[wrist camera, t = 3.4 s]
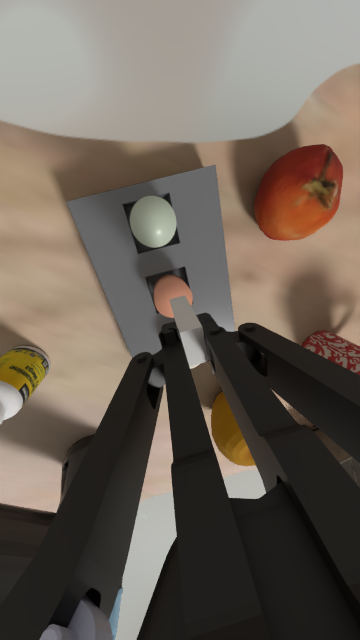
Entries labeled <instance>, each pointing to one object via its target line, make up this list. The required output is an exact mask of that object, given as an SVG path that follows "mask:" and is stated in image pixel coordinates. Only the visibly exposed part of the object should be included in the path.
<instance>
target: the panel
mask: <svg viewBox="0 0 360 640" xmlns="http://www.w3.org/2000/svg"><path fill="white" fill-rule="evenodd" d="M146 196H157V197H160V198H162V199H164V200H165V201H167V202H168V203H169V204H170V206H171V207H172V209H173V210H174V213H175V216H176V231H175V234H174V236H173V237H172V239H171V240H170V241H169V242H168V243H167V244H165V245H163V246H161V247H155V248H154V247H148V246H146V245H144V244H142V243H141V242H140V241H138V240H137V238H136V237H135V236H134V234H133V232H132V229H131V226H130V214H131V211H132V208H133V206H134V205H135V204H136V202H137V201H138V200H140V199H141V198H143V197H146ZM66 203H67V205H68V207H69V210H70V212H71V214H72V217H73V219H74V221H75V224H76V226H77V229H78V231H79V233H80V236H81V238H82V240H83V243H84V245H85V247H86V250H87V252H88V255H89V257H90V259H91V262H92V264H93V266H94V269H95V271H96V273H97V276H98V278H99V281H100V283H101V285H102V288H103V290H104V292H105V295H106V297H107V299H108V302H109V304H110V307H111V309H112V311H113V314H114V316H115V318H116V321H117V323H118V325H119V328H120V330H121V332H122V335H123V337H124V340H125V342H126V344H127V347H128V349H129V351H130V354H131V356H132V358H133V357H134V356H135V355H137V354H139V353H142V352H149V353H151V354H152V355H153V354H155V353H157V352H159V351H160V350H161V349H162V346H161V342H160V339H159V336H158V334H159V332H160V331H161V328H162V326H163V324H167V323H170V322H174V321H175V318H170V317H166V316H164V315H162V314H161V313H160V312H159V311H158V310H157V309H156V306H155V303H154V292H153V289H154V285H155V282H156V281H157V280H158V279H159V278H160V277H161V276H163V275H166V274H175V275H177V276H179V277H181V278H182V279H183V280H184V282H185V283H186V284H187V286H188V287H189V288H190V290H191V292H192V296H193V301H192V305H191V307H192V309H193V311H194V313H195V314H196V315H198V314H202V313H205V312H206V313H208V314H210V315H211V316H212V318H213V319H214V320H215V322H216V323H217V325H218V326H220V327H223V328H224V329H225V330H226V331H229V332H233V331H235V326H234V318H233V309H232V301H231V292H230V284H229V275H228V267H227V258H226V250H225V241H224V233H223V224H222V216H221V208H220V199H219V191H218V182H217V174H216V165H212V166H208V167H204V168H200V169H196V170H192V171H188V172H184V173H180V174H176V175H171V176H167V177H163V178H159V179H155V180H151V181H147V182H143V183H139V184H135V185H131V186H127V187H123V188H119V189H115V190H111V191H107V192H103V193H99V194H94V195H90V196H86V197H82V198H78V199H74V200H70V201H66ZM208 357H209V356H208Z"/></svg>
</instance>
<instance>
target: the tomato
mask: <svg viewBox="0 0 360 640" xmlns="http://www.w3.org/2000/svg"><path fill="white" fill-rule="evenodd" d="M342 179H343V167H342V164H341V162H340V161H339V159H338V157H337V156H336V154H335V153H334V152H333V150H332V149H331V148H330V147H329V146H327V145H324V144H320V145H311V146H304V147H301V148H298V149H295V150H292V151H290V152H289V153H287V154H285V155H284V156H282V157H281V158H279V159H278V160H277V161H275V162H274V163H273V164H272V166H271V167H270V168H269V169H268V170H267V171H266V173H265V174H264V176H263V178H262V181H261V183H260V186H259V189H258V192H257V195H256V198H255V202H254V213H255V219H256V221H257V223H258V226H259V228H260V230H261V231H262V232H263V233H264V234H265V235H266V236H267V237H269V238H271V239H274V240H299V239H303V238H305V237H307V236H309V235H311V234H313V233H315V232H316V231H317V230H319V229H320V228H321V227H323V226H324V225H326V224H327V223H328V222H329V221H330V220H331V219H332V218H333V216H334V215H335V213H336V211H337V209H338V207H339V201H340V194H341V187H342Z"/></svg>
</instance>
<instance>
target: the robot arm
mask: <svg viewBox="0 0 360 640" xmlns="http://www.w3.org/2000/svg"><path fill="white" fill-rule="evenodd" d="M169 300H170V304H171V307H172V311H173V315H174V318H175V321H174V322H170V323H167V324H163V326H162V328H161V331H160V332H159V334H158V336H159V339H160V342H161V346H162V349H161V350H160V351H159V352H157V353H155V354H153V355H152V354H151V353H149V352H142V353H139V354H137V355H135V356H134V357H133V358H132V360H131V361H130V363H129V365H128V368H127V370H126V372H125V374H124V376H123V378H122V380H121V382H120V384H119V386H118V388H117V390H116V392H115V394H114V396H113V398H112V400H111V402H110V404H109V406H108V408H107V411H106V413H105V415H104V417H103V419H102V421H101V423H100V425H99V427H98V429H97V431H96V433H95V435H92V436H89V437H86V438H83V439H81V440H79V441H77V442H76V443H75V444H73V445H72V446H71V447H70V449H69V450H68V452H67V455H66V457H65V460H64V463H63V466H62V480H61V497H60V504H59V507H58V510H57V513H53V512H48V511H42V510H36V509H30V508H24V507H18V506H13V505H8V504H3V503H0V640H115V637H116V632H117V624H118V618H119V610H120V602H121V594H122V591H123V588H122V577H123V573H124V569H125V564H126V560H127V556H128V552H129V548H130V543H131V538H132V533H133V529H134V524H135V520H136V515H137V510H138V505H139V501H140V496H141V492H142V487H143V482H144V477H145V473H146V468H147V463H148V459H149V454H150V449H151V445H152V440H153V435H154V431H155V426H156V421H157V417H158V412H159V407H160V403H161V398H162V393H163V385H165V384H166V392H167V402H168V411H169V421H170V431H171V440H172V450H173V463H172V465H171V475H172V487H173V498H174V509H175V520H176V531H177V537H176V539H175V541H174V542H173V544H172V546H171V548H170V550H169V552H168V554H167V556H166V560H165V562H164V564H163V567H162V570H161V573H160V576H159V578H158V581H157V584H156V587H155V590H154V592H153V596H152V598H151V601H150V604H149V606H148V609H147V612H146V615H145V618H144V620H143V623H142V626H141V629H140V632H139V634H138V637H137V640H360V487H359V486H358V485H357V484H356V483H355V481H354V480H353V479H352V478H351V476H350V475H349V474H348V473H347V472H346V470H345V469H344V468H343V467H342V465H341V464H340V463H339V462H338V461H337V459H336V458H335V457H334V456H333V454H332V453H331V452H330V451H329V450H328V448H327V447H326V446H325V445H324V443H323V442H322V441H321V440H320V439H319V437H318V436H317V435H316V434H315V433H314V432H313V431H312V430H311V428H309V427H308V426H306V425H299V424H298V423H297V422H296V421H295V420H294V419H293V417H292V416H291V415H290V413H289V412H288V411H287V410H286V408H285V407H284V406H283V404H282V403H281V402H280V400H279V399H278V398H277V396H276V395H275V394H274V393H273V391H274V392H275V393H277V394H278V395H279V396H280V397H281V398H283V399H284V400H285V401H286V402H287V403H289V404H290V405H291V406H292V407H293V408H295V409H296V410H297V411H298V412H299V413H300V414H302V415H303V416H304V417H305V418H306V419H308V420H309V421H310V422H311V423H312V424H314V425H315V426H316V427H317V428H318V429H319V430H321V431H322V432H323V433H324V434H325V435H327V436H328V437H329V438H330V439H331V440H333V441H334V442H335V443H336V444H337V445H339V446H340V447H341V448H342V449H343V450H344V451H346V452H347V453H348V454H349V455H350V456H352V457H353V458H354V459H355V460H356V461H358V462H359V463H360V375H358V374H356V373H354V372H352V371H350V370H348V369H346V368H344V367H342V366H340V365H338V364H336V363H334V362H332V361H330V360H328V359H326V358H324V357H322V356H320V355H318V354H316V353H314V352H312V351H310V350H308V349H306V348H304V347H302V346H300V345H298V344H296V343H294V342H292V341H290V340H288V339H286V338H284V337H282V336H280V335H278V334H276V333H274V332H272V331H270V330H268V329H266V328H264V327H262V326H260V325H258V324H256V323H245V324H242V325H240V326H239V327H238V331H233V332H229V331H226V330H225V329H224V328H223V327H220V326H218V325H217V323H216V322H215V320H214V319H213V318H212V316H211V315H210V314H208V313H206V312H205V313H202V314H198V315H196V314H195V313H194V311H193V309H192V307H191V305H190V303H189V302H188V300H187V298H186V296H185V295H184V296H180V297H176V298H172V299H169ZM262 353H263V354H264V355H263V354H262ZM208 356H209V357H208ZM209 359H210V362H211V367H212V373H213V374H214V373H215V375H216V378H217V380H218V382H219V384H220V386H221V389H222V391H223V393H224V395H225V398H226V400H227V402H228V404H229V406H230V409H231V411H232V413H233V415H234V417H235V420H236V422H237V424H238V426H239V429H240V431H241V433H242V435H243V437H244V440H245V442H246V444H247V446H248V449H249V451H250V453H251V455H252V457H253V460H254V462H255V464H256V466H257V468H258V471H259V473H260V475H261V478H262V480H263V483H264V487H265V490H266V494H265V495H263V496H262V497H261V498H259V499H241V498H229V497H228V494H227V491H226V487H225V484H224V480H223V477H222V474H221V470H220V467H219V464H218V460H217V457H216V454H215V451H214V448H213V445H212V441H211V438H210V435H209V431H208V428H207V425H206V421H205V418H204V414H203V411H202V408H201V404H200V401H199V397H198V394H197V391H196V387H195V384H194V380H193V377H192V374H191V370H190V366H193V365H197V364H200V363H204V362H208V361H209ZM270 388H271V389H272V390H273V391H272V390H271V389H270Z"/></svg>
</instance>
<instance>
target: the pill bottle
mask: <svg viewBox="0 0 360 640" xmlns="http://www.w3.org/2000/svg"><path fill="white" fill-rule="evenodd" d="M49 369H50V360H49V358H48V357H47V355H46V354H45V353H44V352H43V351H41V350H40V349H37V348H35V347H31V346H19V347H15V348H13V349H11V350H9V351H8V352H7V353H6V354H4V355H3V356H2V357H1V358H0V425H1V423H2V422H3V420H6V419H8V418H10V417H12V416H14V415H15V414H16V413H17V412H18V411H19V410H20V409H21V408H22V406H23V405H24V404H25V402H26V401H27V400H28V398H29V397H30V396H31V394H32V393H33V392H34V390H35V389H36V388H37V386H38V385H39V384H40V382H41V381H42V380H43V378H44V377H45V376H46V375H47V373H48V371H49Z"/></svg>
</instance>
